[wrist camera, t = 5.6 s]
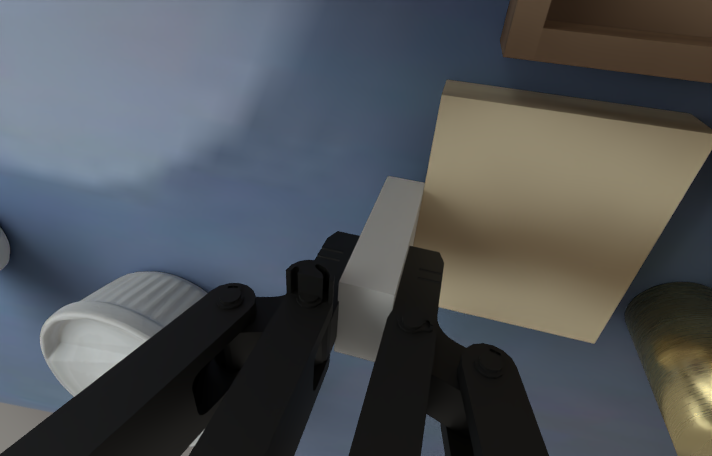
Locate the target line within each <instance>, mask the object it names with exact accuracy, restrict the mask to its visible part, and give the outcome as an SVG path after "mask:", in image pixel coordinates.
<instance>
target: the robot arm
mask: <svg viewBox="0 0 712 456" xmlns="http://www.w3.org/2000/svg"><path fill="white" fill-rule="evenodd" d="M424 186H425V183H423V182H418V181H413V180H407V179H402V178H397V177H391V176H388V177H387V179H386V181H385V183H384V185H383V188H382V190H381V192H380V194H379V196H378V198H377V201H376V203H375V205H374V207H373V209H372V211H371V214H370V216H369V218H368V220H367V222H366V224H365V227H364V229H363V231H362V233H361V235H360V236H358V235H353V234H348V233H344V232H339V231H337V232H336V233H334V234H333V235H331V236H330V237H328V238H327V240H326V241H325V243H324V245H323V246H322V249H321V250H320V252H319V253H318V256H317V257H316V259H315V260H304V261H299V262H297V263H294V264H292V265H291V266H290V267H289V268H288V269H287V270H286V286H287V293H286V295H283V296H278V297H256V296H255V293H254V291H253V290H252V289H251V288H250V287H248V286H247V285H243V284H240V283H229V284H225V285H221V286H219V287H217V288H215V289H213V290H212V291H210V292H209V293H208V294H206V295H205V296H204V297H203V298H201V299H200V300H199V301H197V302H196V303H195V304H193V305H192V306H191V307H190V308H188V309H187V310H186V311H184V312H183V313H182V314H181V315H179V316H178V317H177V318H175V319H174V320H173V321H172V322H170V323H169V324H168V325H166V326H165V327H164V328H163V329H161V330H160V331H159V332H157V333H156V334H155V335H153V336H152V337H151V338H150V339H148V340H147V341H146V342H144V343H143V344H142V345H141V346H139V347H138V348H137V349H135V350H134V351H133V352H132V353H130V354H129V355H128V356H126V357H125V358H124V359H123V360H121V361H120V362H119V363H117V364H116V365H115V366H113V367H112V368H111V369H110V370H108V371H107V372H106V373H104V374H103V375H102V376H101V377H99V378H98V379H97V380H95V381H94V382H93V383H92V384H90V385H89V386H88V387H86V388H85V389H84V390H82V391H81V392H80V393H79V394H77V395H76V396H75V397H73V398H72V399H71V400H70V401H68V402H67V403H66V404H64V405H63V406H62V407H61V408H59V409H58V410H57V411H55V412H54V413H53V414H52V415H50V416H49V417H48V418H46V419H45V420H44V421H42V422H41V423H40V424H39V425H37V426H36V427H35V428H33V429H32V430H31V431H30V432H28V433H27V434H26V435H24V436H23V437H22V438H21V439H19V440H18V441H17V442H15V443H14V444H13V445H12V446H10V447H9V448H8V449H6V450H5V451H4V452H3V453H1V454H0V456H181V455H182V453H183V452H184V451H185V450H186V449H187V448H188V447H189V446H190V445H191V444H192V442H193V441H194V440H195V439H196V438H197V437H198V436H199V435H200V434H201V433H202V431H203V430H204V429H205V430H204V431H203V433H202V435H201V436H200V438H199V439H198V441H197V443H196V444H195V446H194V448H193V449H192V451H191V453H190V455H189V456H294V455H295V452H296V450H297V447H298V444H299V442H300V439H301V437H302V434H303V431H304V429H305V426H306V424H307V421H308V418H309V416H310V413H311V411H312V408H313V406H314V403H315V400H316V398H317V395H318V393H319V390H320V387H321V385H322V382H323V380H324V377H325V375H326V372H327V369H328V367H329V360H330V352H331V350H332V347H333V345H334V342H335V346H334V351H336V352H340V353H343V354H347V355H351V356H355V357H358V358H362V359H366V360H369V361H373V362H375V363H374V367H373V371H372V374H371V378H370V381H369V385H368V388H367V392H366V396H365V399H364V403H363V406H362V410H361V413H360V417H359V421H358V424H357V428H356V431H355V435H354V438H353V442H352V446H351V449H350V453H349V456H421V449H422V441H423V434H424V426H425V419H426V414H428V415H429V416H431V417H432V418H434V419H436V420H437V421H439V422H440V423H441V431H442V438H443V444H444V451H445V456H549V454H548V452H547V449H546V446H545V443H544V441H543V438H542V435H541V432H540V430H539V427H538V424H537V421H536V419H535V416H534V413H533V410H532V408H531V405H530V402H529V399H528V397H527V394H526V391H525V388H524V386H523V383H522V380H521V377H520V375H519V372H518V369H517V367H516V365H515V363H514V362H513V360H512V358H511V357H510V356H508V355H507V354H506V353H505V352H504V351H503V350H501V349H499V348H497V347H495V346H493V345H488V344H484V343H481V344H473V345H471V346H469V347H467V348H465V347H464V346H462V345H460V344H458V343H456V342H455V341H453V340H451V339H450V338H449V337H448V336H446V335H445V334H444V333H443V331H442V330H441V328H440V327H439V324H438V321H437V314H438V306H439V299H440V291H441V283H442V277H443V269H444V261H443V259H442V257H441V255H440V252H437V251H432V250H427V249H423V248H418V247H413V244H414V239H415V233H416V228H417V223H418V218H419V212H420V207H421V202H422V196H423V191H424Z"/></svg>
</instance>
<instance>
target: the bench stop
mask: <svg viewBox="0 0 712 456" xmlns="http://www.w3.org/2000/svg"><path fill="white" fill-rule="evenodd" d="M625 322H626V325H627V327H628V330H629V332H630V335H631V338H632V340H633V343H634V345H635V348H636V350H637V353H638V355H639V358H640V360H641V363H642V366H643V368H644V371H645V373H646V376H647V378H648V381H649V383H650V386H651V388H652V391H653V394H654V396H655V399H656V401H657V404H658V406H659V409H660V411H661V414H662V416H663V419H664V422H665V424H666V427H667V429H668V432H669V434H670V437H671V439H672V442H673V445H674V447H675V450H676V452H677V455H678V456H712V289H711V288H709V287H707V286H704V285H701V284H697V283H690V282H674V283H666V284H662V285H658V286H655V287H652V288H650V289H648V290H646V291H644V292H642V293H640V294H639V295H638V296H636V297H635V298H634V299H633V300H632V301H631V302H630V304H629V305H628V307H627V309H626V312H625Z"/></svg>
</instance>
